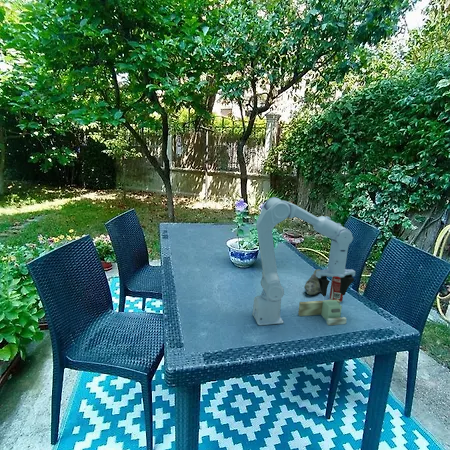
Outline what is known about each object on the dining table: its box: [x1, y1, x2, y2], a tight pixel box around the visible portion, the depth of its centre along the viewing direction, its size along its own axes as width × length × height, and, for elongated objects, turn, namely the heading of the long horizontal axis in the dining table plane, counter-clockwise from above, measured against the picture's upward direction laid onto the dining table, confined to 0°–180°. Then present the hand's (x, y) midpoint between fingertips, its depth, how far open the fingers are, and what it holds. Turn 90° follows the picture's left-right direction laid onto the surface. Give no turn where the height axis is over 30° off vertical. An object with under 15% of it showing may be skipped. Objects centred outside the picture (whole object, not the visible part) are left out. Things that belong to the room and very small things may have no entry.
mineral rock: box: [304, 268, 321, 296], centre depth 130 cm, size 13×11×10 cm
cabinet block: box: [320, 299, 343, 322], centre depth 108 cm, size 5×5×6 cm
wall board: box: [297, 299, 347, 326], centre depth 108 cm, size 16×9×5 cm, turn 101°
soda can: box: [329, 276, 344, 303], centre depth 122 cm, size 5×5×12 cm
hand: (332, 294), depth 107 cm, fingers open, 7 cm apart
